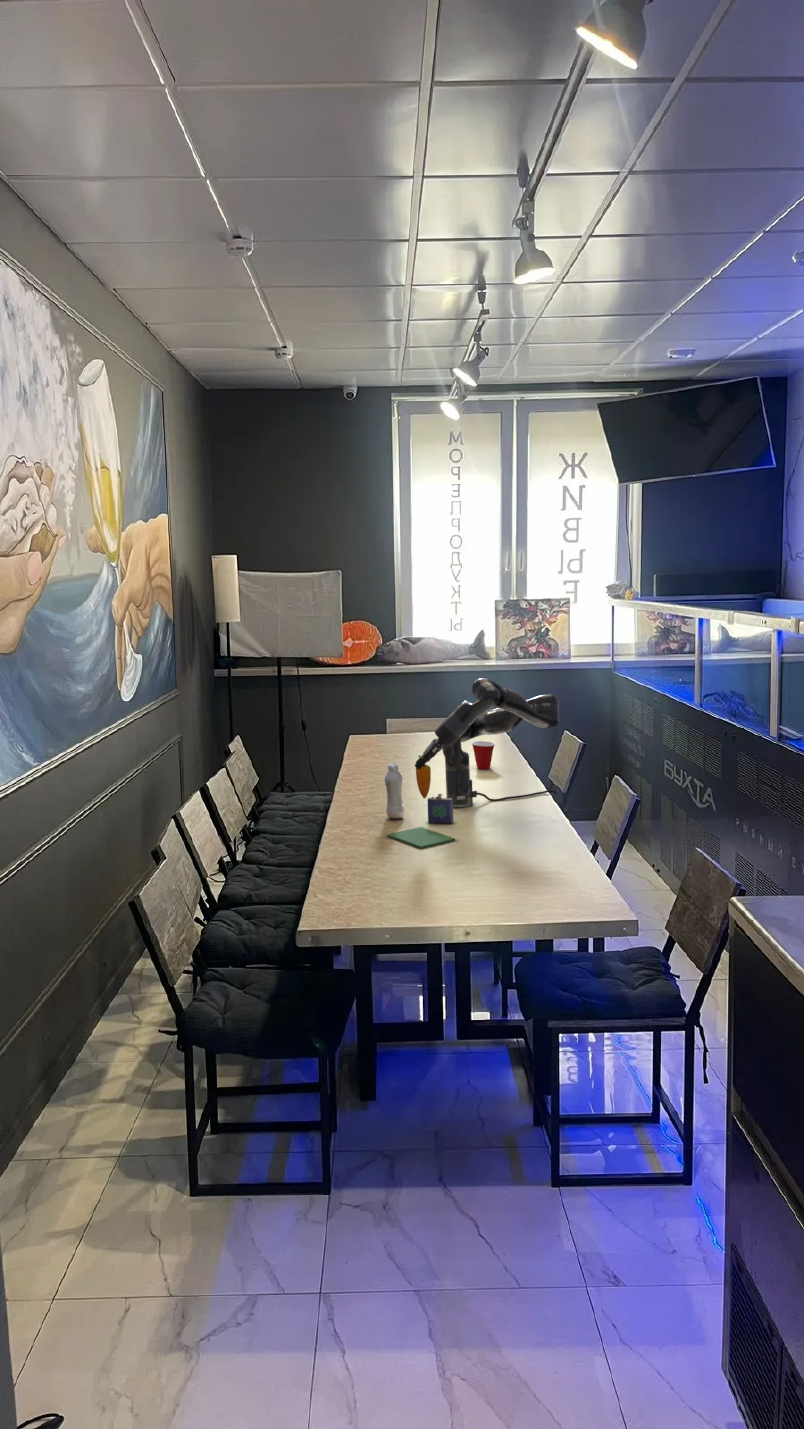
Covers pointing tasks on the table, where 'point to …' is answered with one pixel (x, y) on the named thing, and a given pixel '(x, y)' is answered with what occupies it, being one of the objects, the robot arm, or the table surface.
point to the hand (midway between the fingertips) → (417, 766)
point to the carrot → (423, 779)
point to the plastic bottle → (394, 792)
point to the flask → (440, 810)
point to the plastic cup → (483, 754)
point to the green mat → (421, 837)
